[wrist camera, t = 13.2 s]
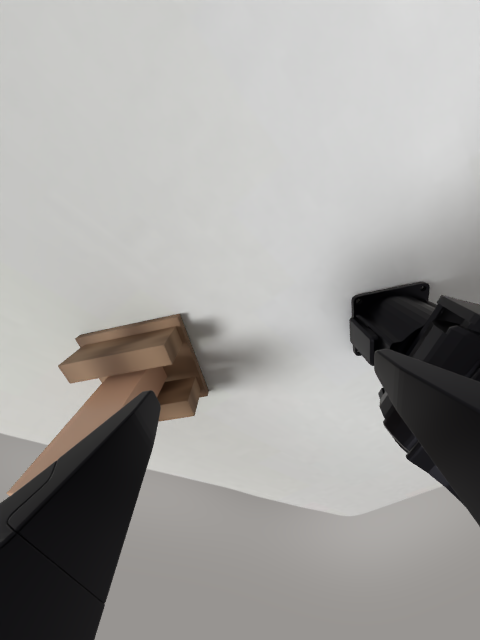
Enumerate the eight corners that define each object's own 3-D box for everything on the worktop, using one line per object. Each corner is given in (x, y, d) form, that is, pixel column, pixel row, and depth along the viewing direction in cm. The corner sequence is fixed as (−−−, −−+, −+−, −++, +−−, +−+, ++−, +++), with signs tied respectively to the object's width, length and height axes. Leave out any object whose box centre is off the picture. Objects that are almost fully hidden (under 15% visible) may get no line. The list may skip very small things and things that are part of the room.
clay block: (156, 353, 23) (70, 485, 12) (167, 376, 24) (98, 515, 13) (121, 360, 24) (6, 493, 12) (133, 382, 25) (38, 522, 14)
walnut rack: (179, 313, 22) (165, 334, 18) (208, 391, 26) (201, 421, 22) (80, 334, 23) (47, 358, 20) (122, 405, 27) (101, 436, 24)
